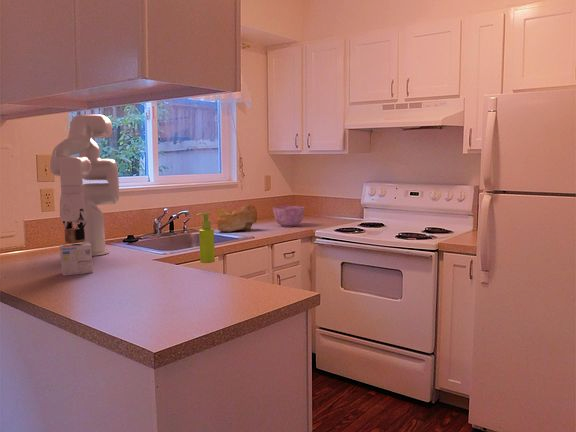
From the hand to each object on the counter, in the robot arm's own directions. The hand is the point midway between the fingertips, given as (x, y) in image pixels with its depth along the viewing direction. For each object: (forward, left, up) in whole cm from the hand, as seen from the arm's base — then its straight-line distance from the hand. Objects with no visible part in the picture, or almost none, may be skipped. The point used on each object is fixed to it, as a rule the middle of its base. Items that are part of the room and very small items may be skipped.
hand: (75, 238), depth 192 cm
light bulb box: (0, 0, -13) cm, 13 cm away
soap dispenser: (+28, +40, -13) cm, 51 cm away
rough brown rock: (-21, +118, -13) cm, 121 cm away
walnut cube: (0, 0, -1) cm, 1 cm away
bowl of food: (-5, +149, -13) cm, 150 cm away
